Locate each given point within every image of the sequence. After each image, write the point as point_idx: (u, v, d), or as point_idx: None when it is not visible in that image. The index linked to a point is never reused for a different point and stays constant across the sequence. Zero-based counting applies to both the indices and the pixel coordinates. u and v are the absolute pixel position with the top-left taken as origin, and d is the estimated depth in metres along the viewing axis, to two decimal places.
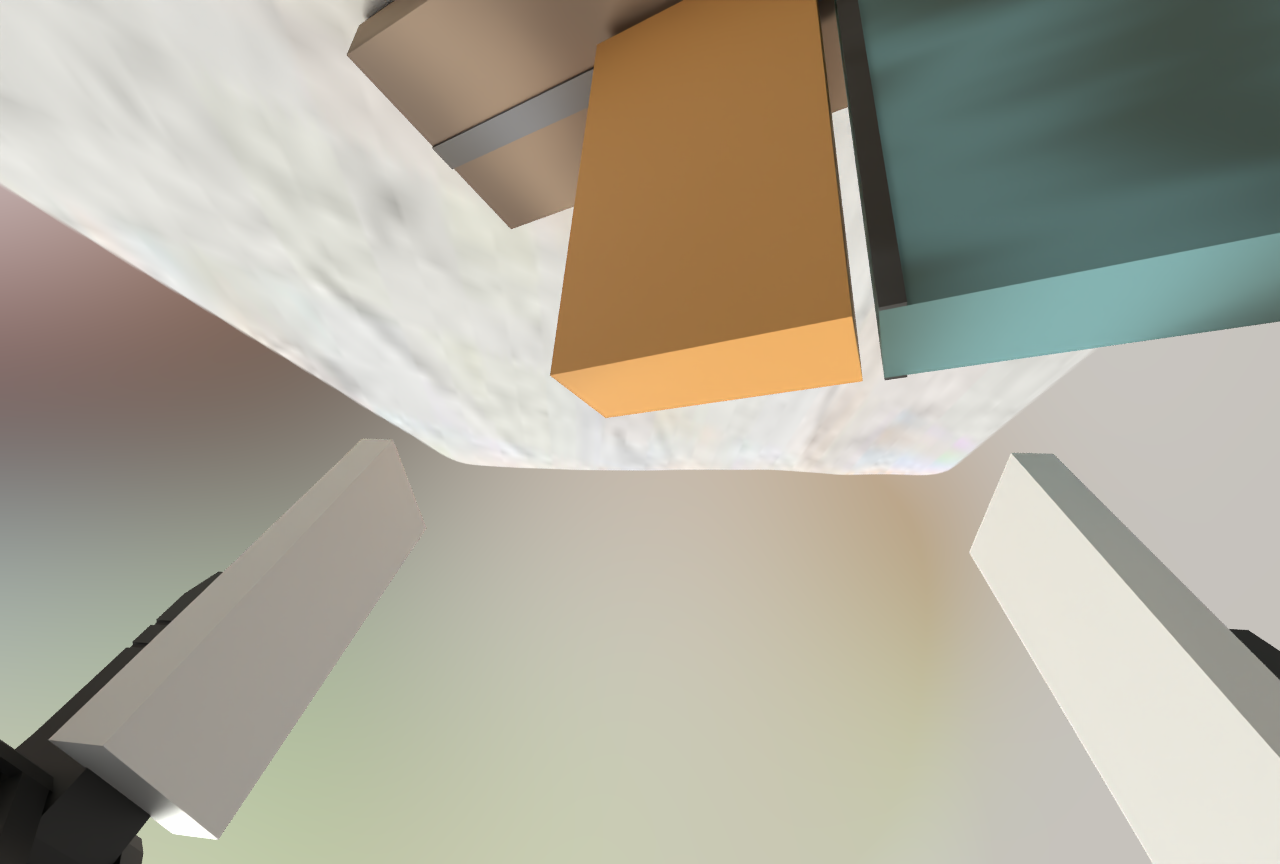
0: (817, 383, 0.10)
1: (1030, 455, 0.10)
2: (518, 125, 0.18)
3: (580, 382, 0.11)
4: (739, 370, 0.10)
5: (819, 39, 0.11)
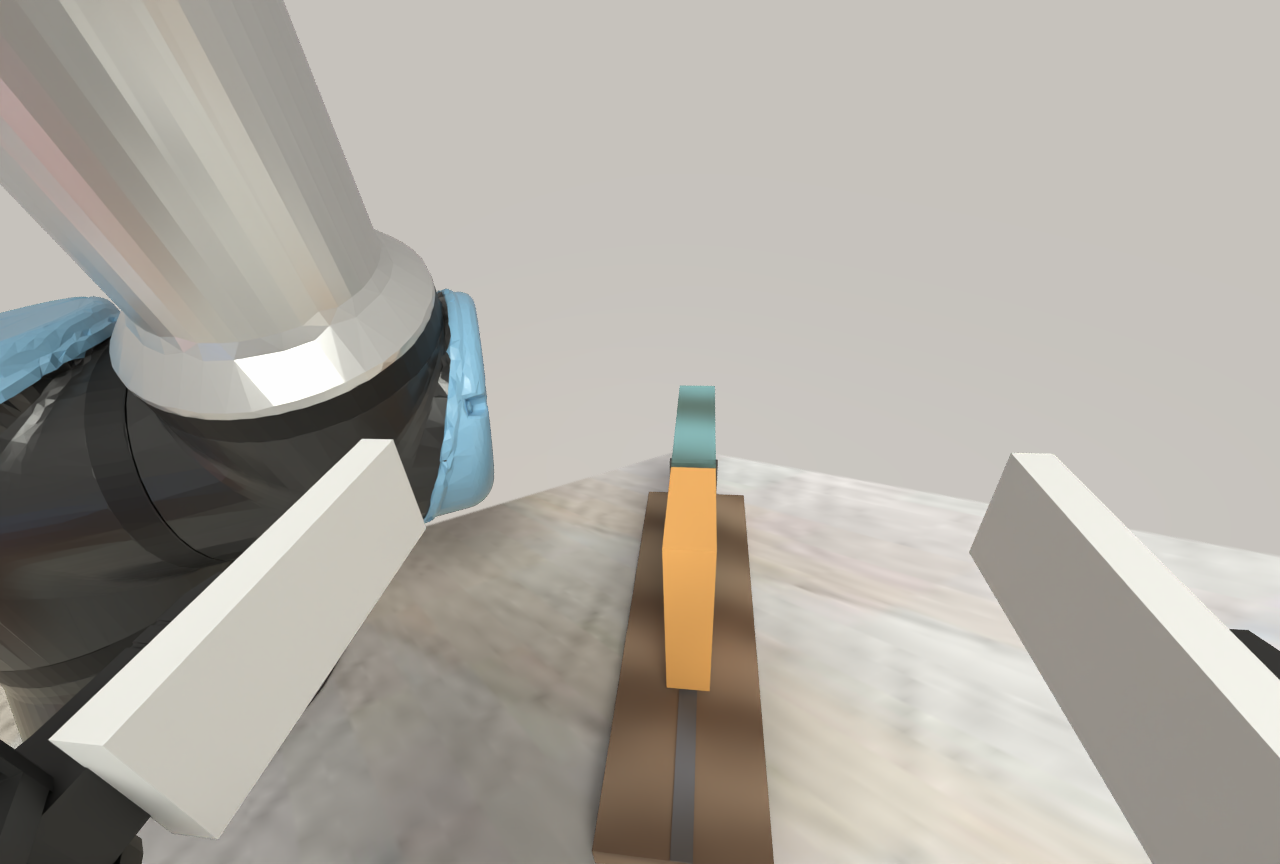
0: (711, 478, 0.26)
1: (1030, 454, 0.10)
2: (686, 771, 0.25)
3: (674, 542, 0.23)
4: (691, 494, 0.25)
5: None
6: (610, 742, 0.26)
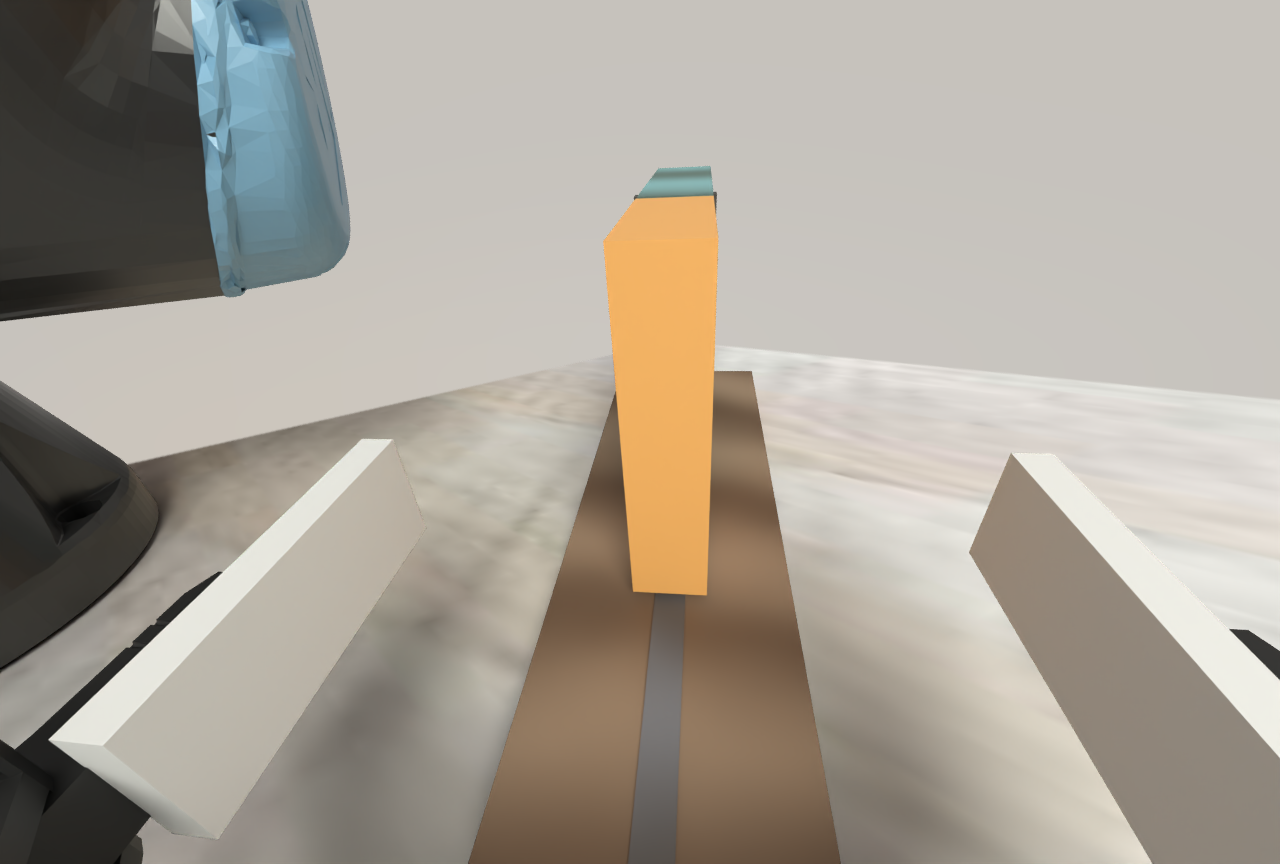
0: (707, 200, 0.15)
1: (1030, 454, 0.10)
2: (664, 724, 0.13)
3: (630, 236, 0.11)
4: (668, 209, 0.14)
5: None
6: (528, 679, 0.15)
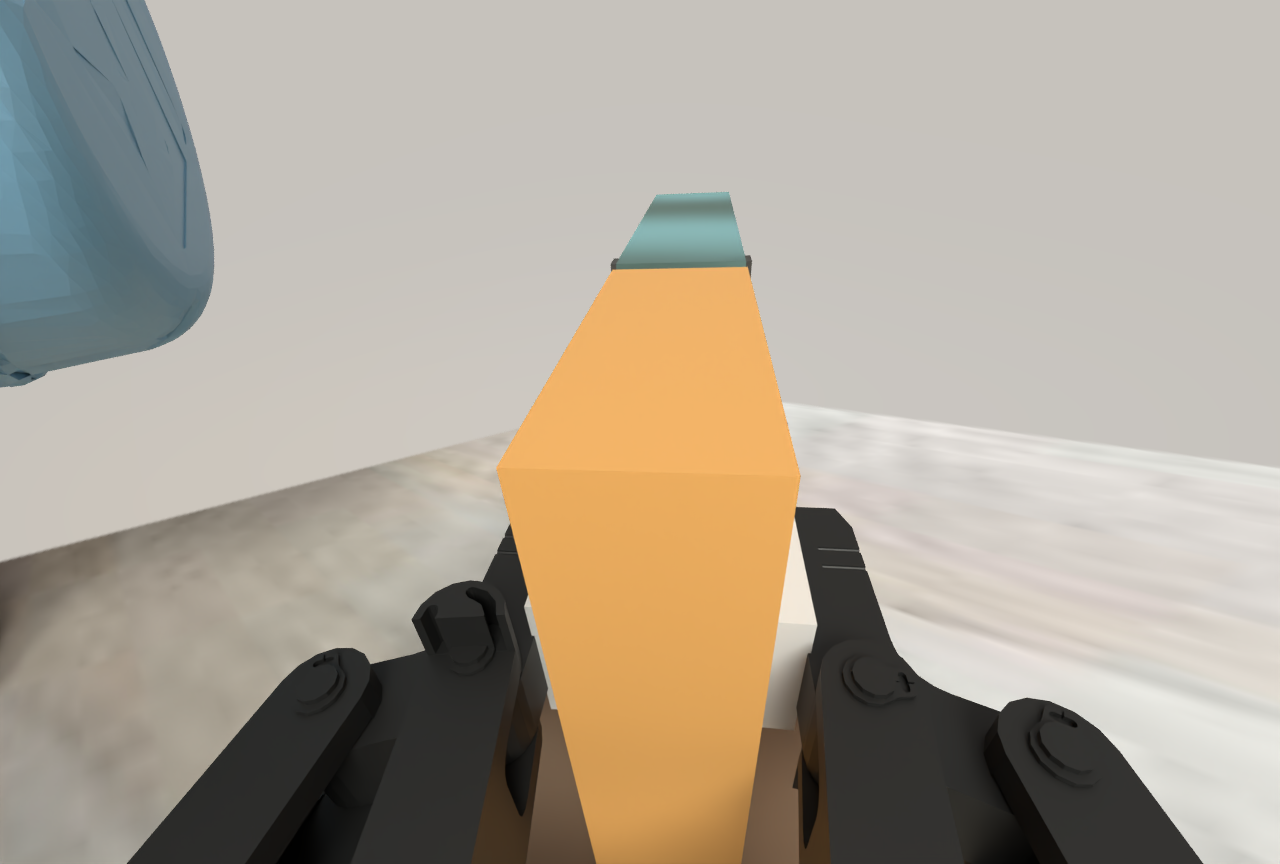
0: (738, 281, 0.08)
1: None
2: None
3: (570, 439, 0.04)
4: (668, 310, 0.07)
5: None
6: None
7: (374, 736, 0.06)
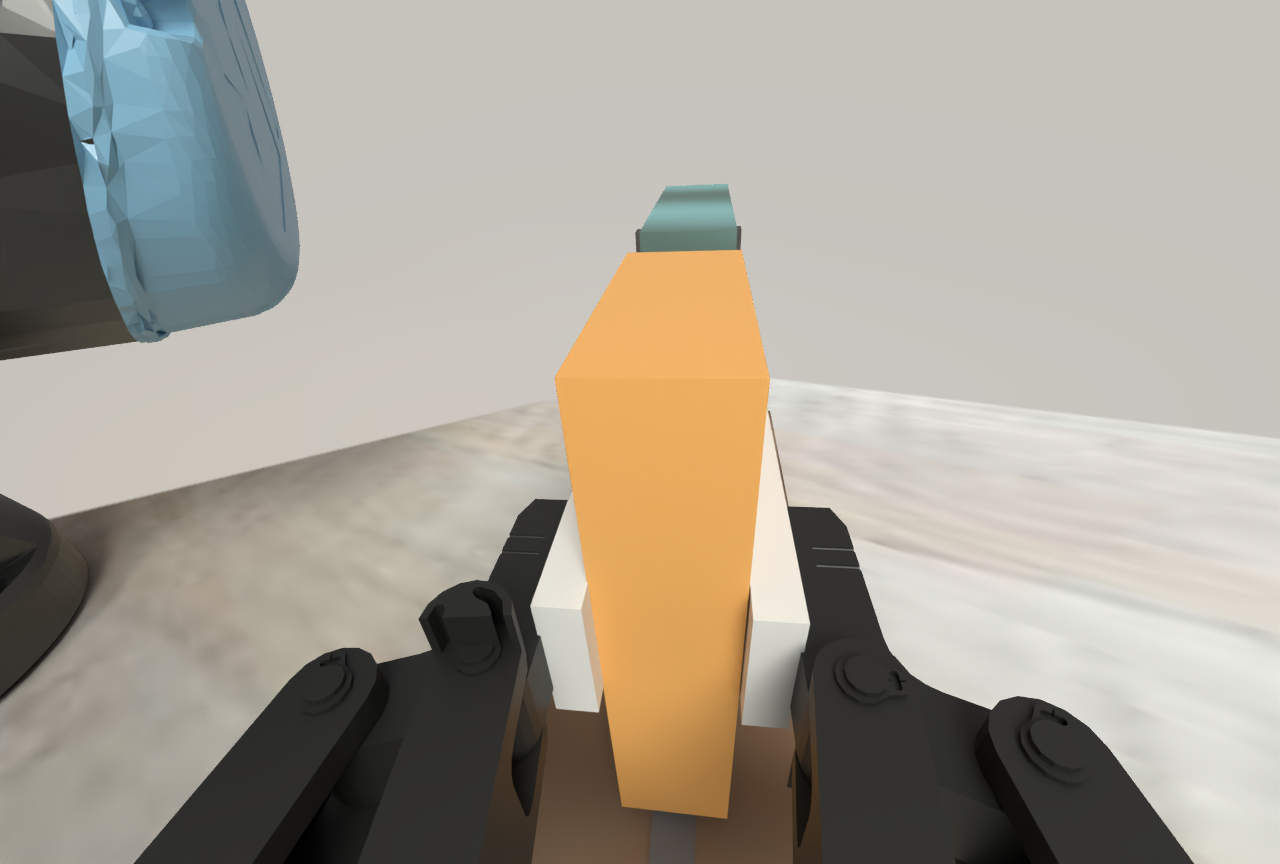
0: (733, 259, 0.10)
1: None
2: None
3: (605, 361, 0.06)
4: (675, 280, 0.09)
5: None
6: None
7: (381, 736, 0.06)
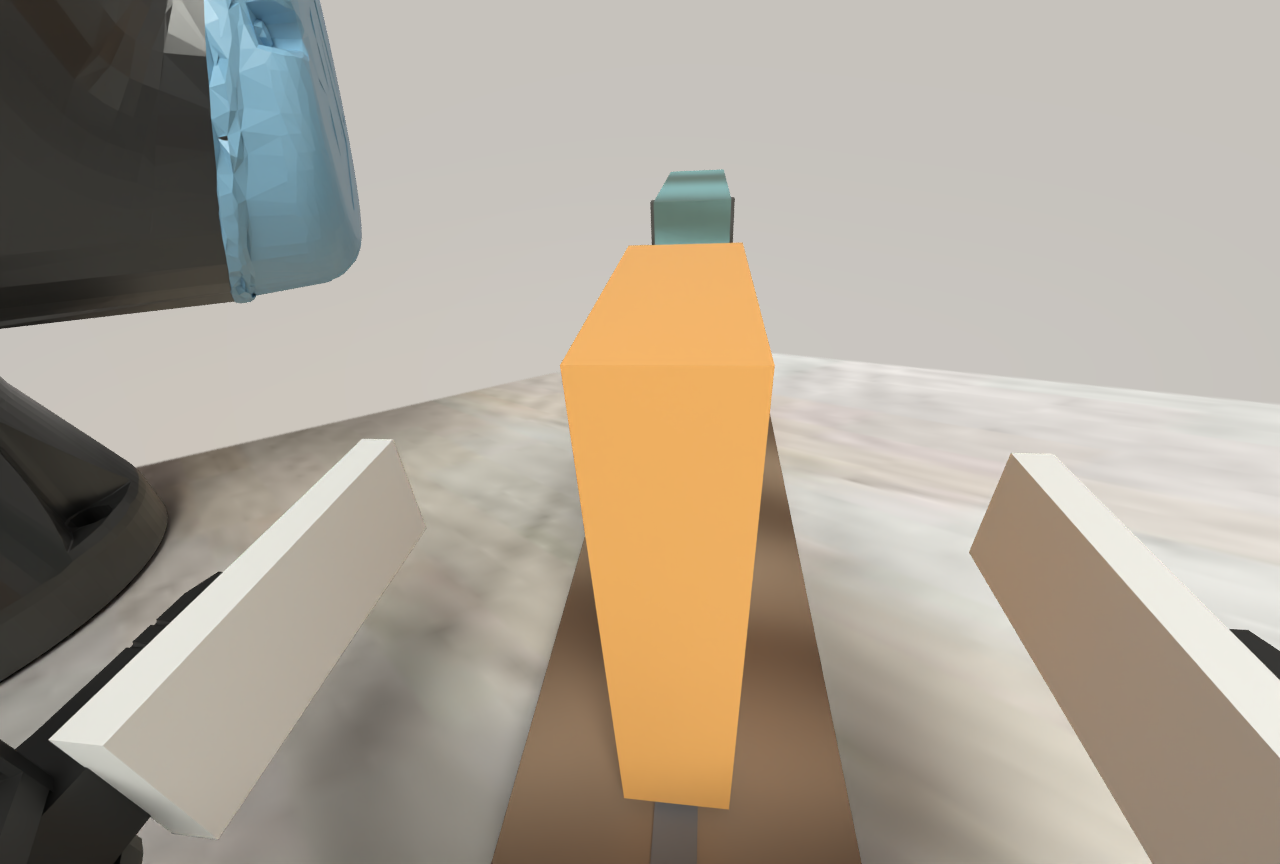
0: (734, 252, 0.10)
1: (1030, 454, 0.10)
2: None
3: (610, 350, 0.06)
4: (677, 272, 0.09)
5: None
6: (542, 691, 0.14)
7: None
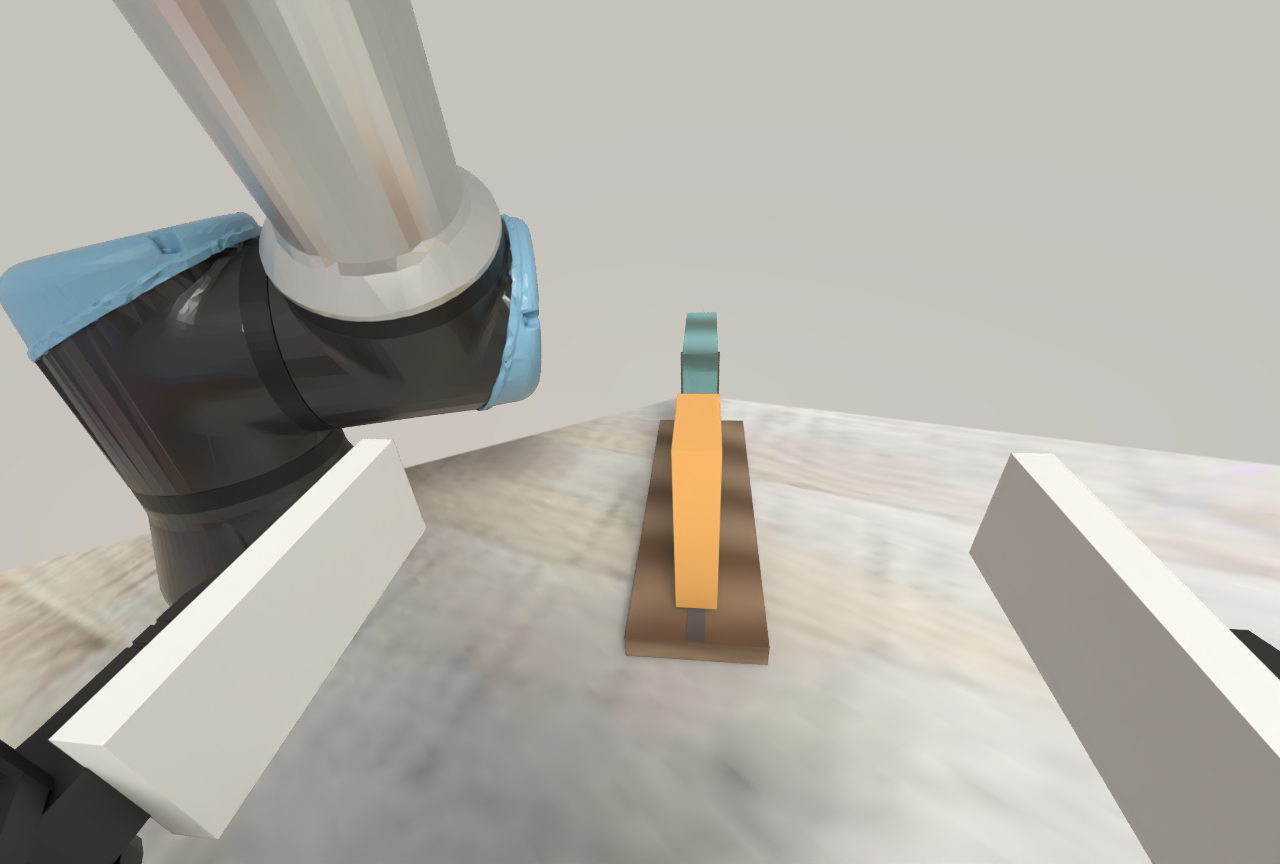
0: (716, 400, 0.28)
1: (1030, 454, 0.10)
2: None
3: (682, 445, 0.24)
4: (697, 411, 0.27)
5: None
6: (635, 576, 0.32)
7: None
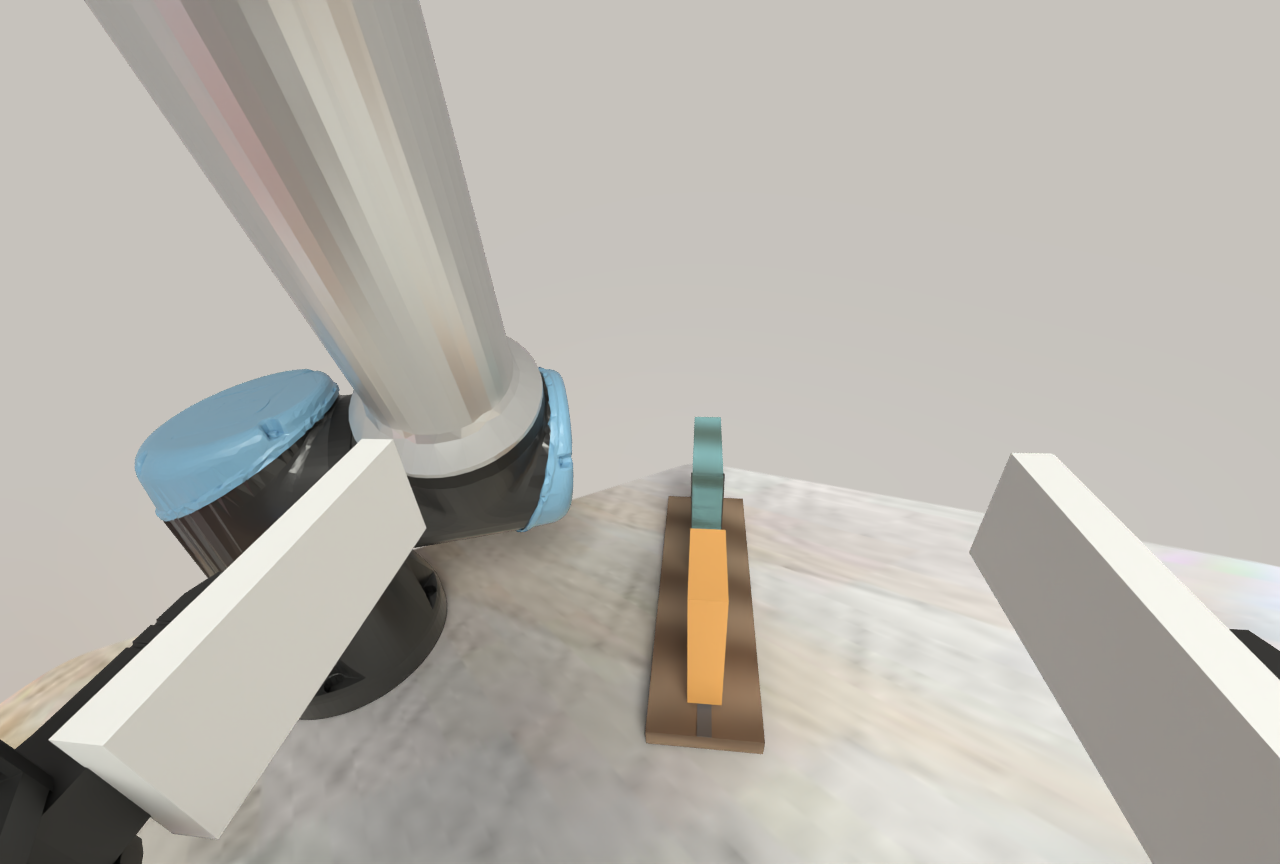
0: (723, 538, 0.34)
1: (1030, 455, 0.10)
2: None
3: (696, 593, 0.30)
4: (707, 552, 0.33)
5: None
6: (652, 669, 0.38)
7: None
